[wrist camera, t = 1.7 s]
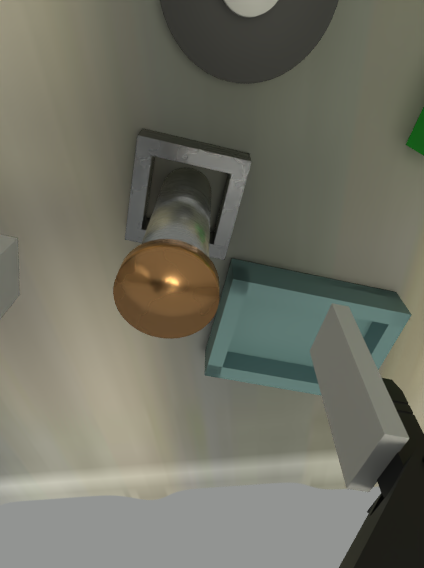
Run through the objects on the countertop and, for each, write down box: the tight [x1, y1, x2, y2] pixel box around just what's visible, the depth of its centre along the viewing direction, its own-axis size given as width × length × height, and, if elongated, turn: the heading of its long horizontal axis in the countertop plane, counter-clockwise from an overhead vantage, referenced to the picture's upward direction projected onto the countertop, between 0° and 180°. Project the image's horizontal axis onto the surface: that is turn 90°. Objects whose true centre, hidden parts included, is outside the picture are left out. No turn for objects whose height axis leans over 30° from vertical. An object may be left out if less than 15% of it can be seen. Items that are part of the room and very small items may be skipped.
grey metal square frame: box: [125, 129, 251, 260], centre depth 27 cm, size 7×7×2 cm
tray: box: [205, 259, 411, 395], centre depth 32 cm, size 13×9×3 cm
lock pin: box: [113, 168, 219, 338], centre depth 22 cm, size 4×4×13 cm
